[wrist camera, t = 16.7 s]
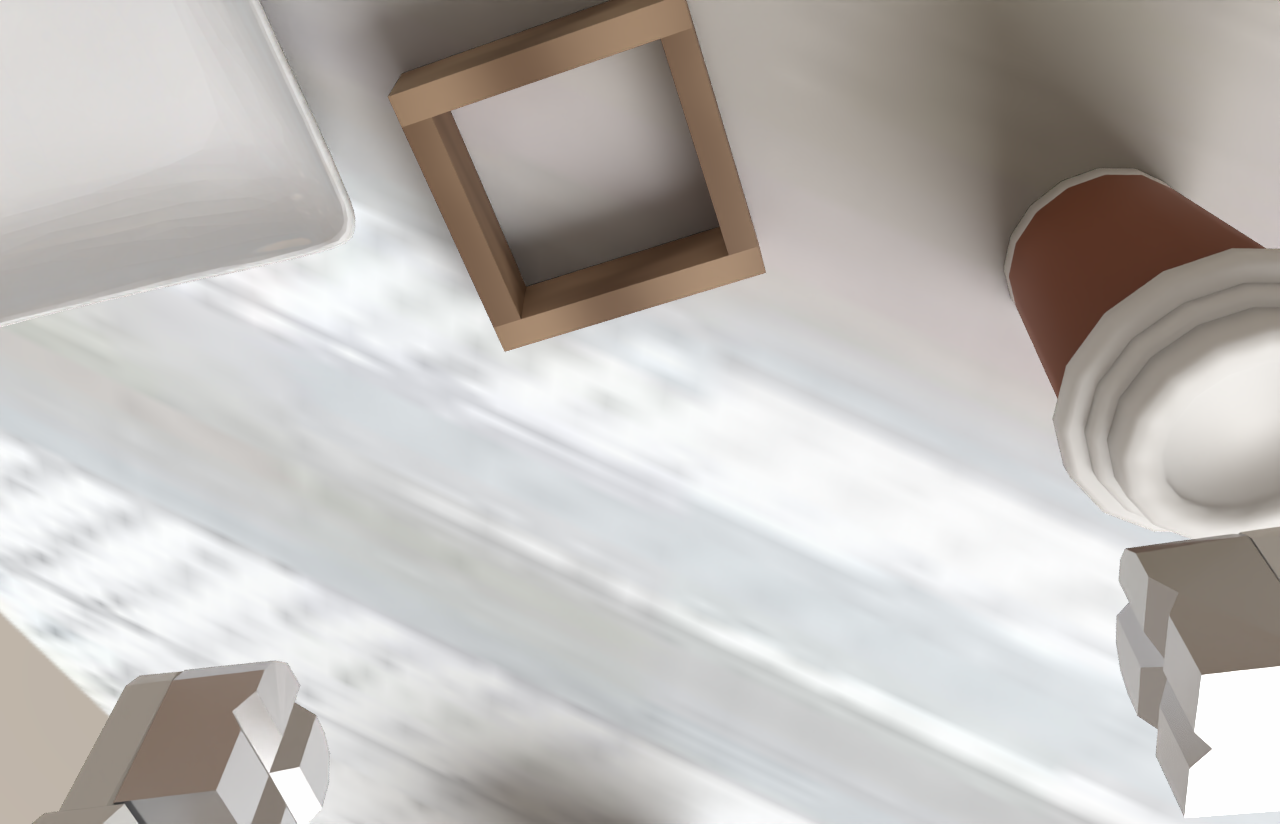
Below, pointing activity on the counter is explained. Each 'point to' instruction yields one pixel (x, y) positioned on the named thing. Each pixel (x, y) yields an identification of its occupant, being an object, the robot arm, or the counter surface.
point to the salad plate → (152, 151)
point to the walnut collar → (519, 314)
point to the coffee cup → (1155, 351)
